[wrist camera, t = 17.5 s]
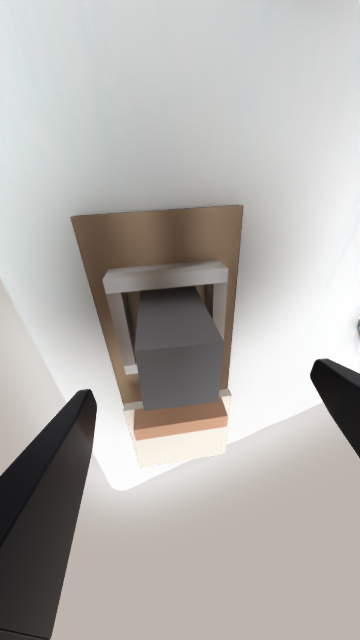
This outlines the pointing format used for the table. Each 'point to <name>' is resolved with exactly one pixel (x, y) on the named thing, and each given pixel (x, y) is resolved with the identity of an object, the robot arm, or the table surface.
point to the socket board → (158, 272)
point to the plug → (177, 349)
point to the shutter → (178, 431)
